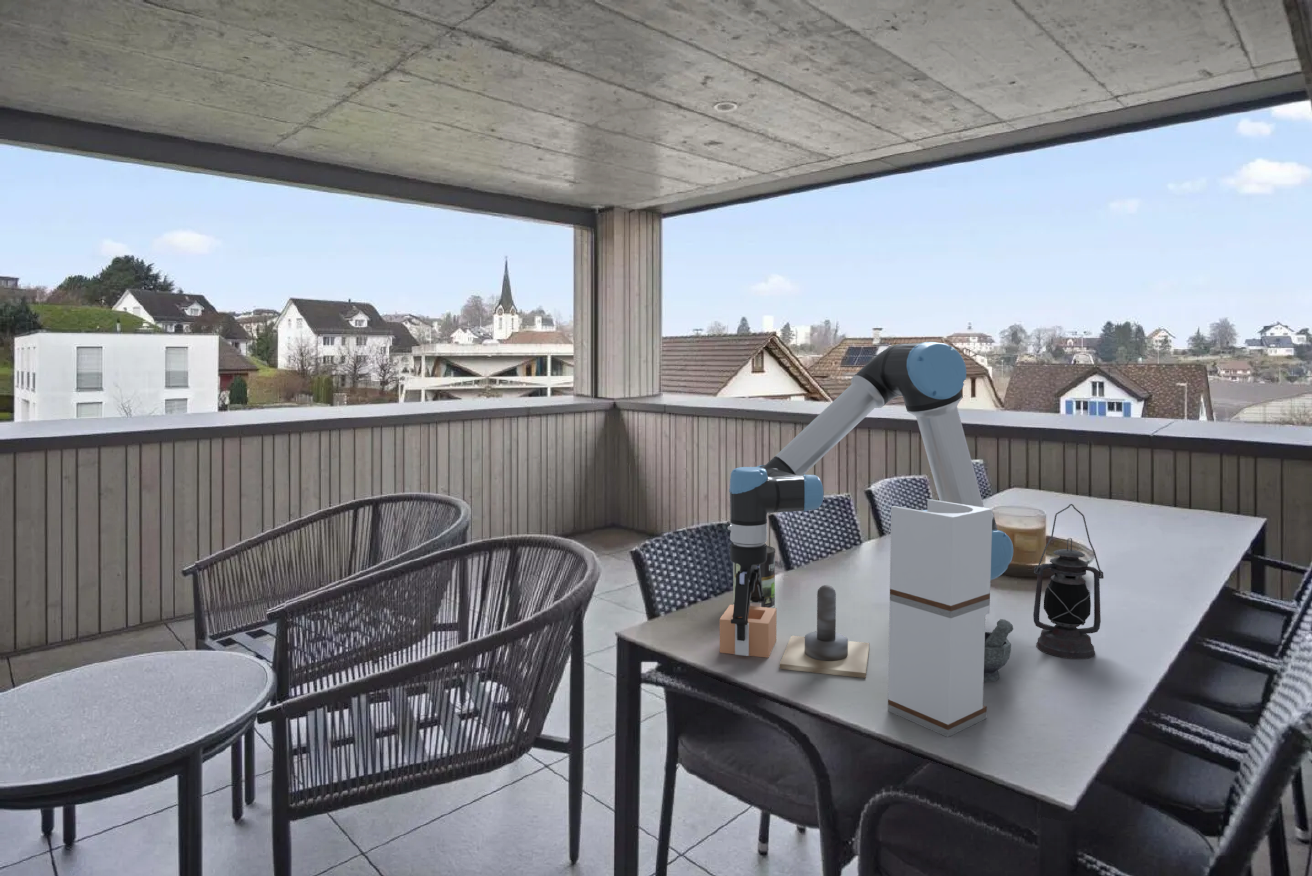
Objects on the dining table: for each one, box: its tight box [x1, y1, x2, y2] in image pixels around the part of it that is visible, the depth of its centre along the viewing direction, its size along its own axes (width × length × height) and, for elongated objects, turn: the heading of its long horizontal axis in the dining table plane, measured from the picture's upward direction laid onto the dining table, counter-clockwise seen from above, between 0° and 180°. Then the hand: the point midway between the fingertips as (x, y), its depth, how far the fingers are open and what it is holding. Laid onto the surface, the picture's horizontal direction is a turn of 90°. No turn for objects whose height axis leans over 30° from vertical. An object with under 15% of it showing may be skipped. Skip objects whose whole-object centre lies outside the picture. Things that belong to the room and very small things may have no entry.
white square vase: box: [887, 498, 993, 738], centre depth 126 cm, size 11×11×35 cm
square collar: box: [719, 603, 778, 658], centre depth 160 cm, size 10×10×7 cm
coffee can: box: [732, 545, 776, 608], centre depth 186 cm, size 10×10×14 cm
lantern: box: [1032, 503, 1105, 660], centre depth 155 cm, size 12×11×30 cm
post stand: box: [779, 584, 870, 679], centre depth 152 cm, size 16×16×15 cm
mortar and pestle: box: [983, 618, 1014, 683], centre depth 143 cm, size 11×9×12 cm
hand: (748, 642), depth 160 cm, fingers open, 13 cm apart
